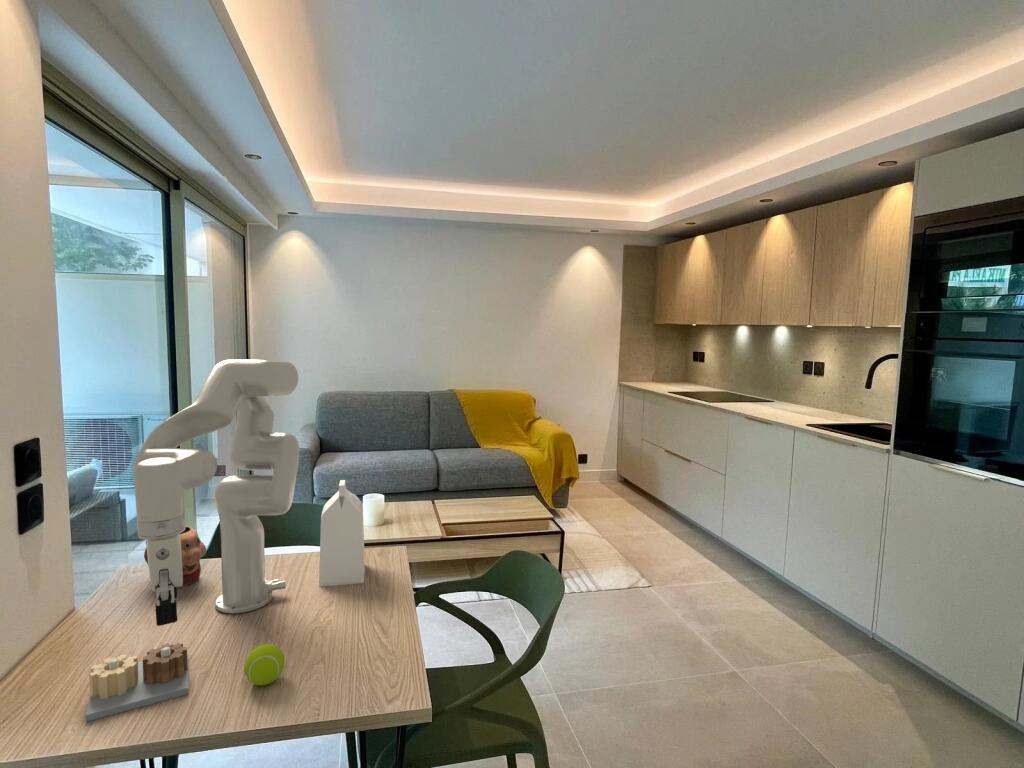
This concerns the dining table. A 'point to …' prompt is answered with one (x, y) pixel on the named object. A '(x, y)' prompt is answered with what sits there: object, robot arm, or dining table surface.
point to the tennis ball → (264, 664)
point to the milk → (342, 540)
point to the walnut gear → (164, 664)
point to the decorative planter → (189, 555)
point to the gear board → (137, 696)
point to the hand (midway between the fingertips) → (167, 611)
